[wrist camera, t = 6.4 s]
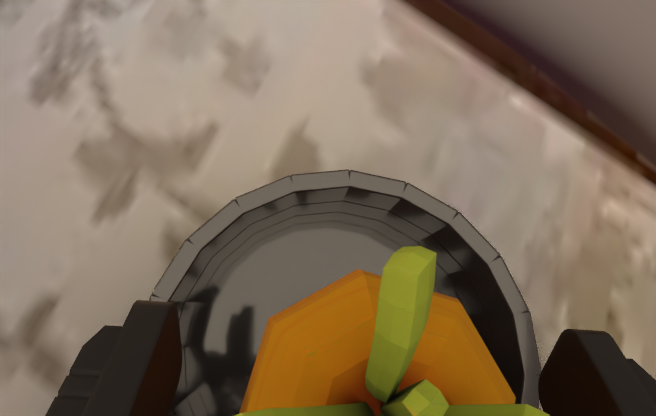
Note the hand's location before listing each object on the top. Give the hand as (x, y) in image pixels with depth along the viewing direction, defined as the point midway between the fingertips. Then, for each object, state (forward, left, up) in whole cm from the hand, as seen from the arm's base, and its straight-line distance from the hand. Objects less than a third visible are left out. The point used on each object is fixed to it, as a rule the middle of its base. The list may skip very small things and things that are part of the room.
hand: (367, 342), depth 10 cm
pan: (0, -1, -9) cm, 9 cm away
